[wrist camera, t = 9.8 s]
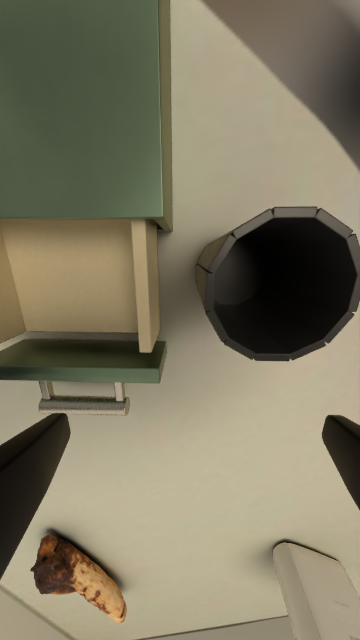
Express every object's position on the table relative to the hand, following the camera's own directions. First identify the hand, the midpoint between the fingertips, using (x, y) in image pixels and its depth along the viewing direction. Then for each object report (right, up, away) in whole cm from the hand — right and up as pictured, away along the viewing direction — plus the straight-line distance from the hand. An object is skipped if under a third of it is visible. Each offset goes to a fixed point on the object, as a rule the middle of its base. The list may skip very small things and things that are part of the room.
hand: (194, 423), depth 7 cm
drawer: (-8, +5, +10) cm, 14 cm away
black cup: (+4, +8, +10) cm, 13 cm away
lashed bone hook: (-15, -33, +23) cm, 43 cm away
